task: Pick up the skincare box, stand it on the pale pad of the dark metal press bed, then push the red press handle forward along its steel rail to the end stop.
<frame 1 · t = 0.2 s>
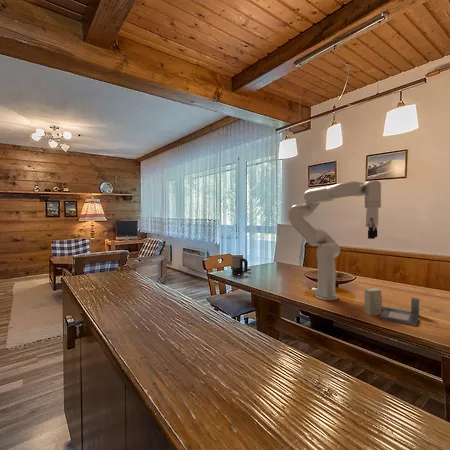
hand: (372, 237, 147), 36 cm above the table, tool pointing down, fingers open, 9 cm apart
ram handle: (376, 298, 145), point 5 cm above the table, slide at 0.0 cm
press bed: (398, 318, 131), on the table
skincare box: (372, 314, 138), on the table
milk frother: (241, 273, 230), on the table
rail: (392, 311, 141), on the table
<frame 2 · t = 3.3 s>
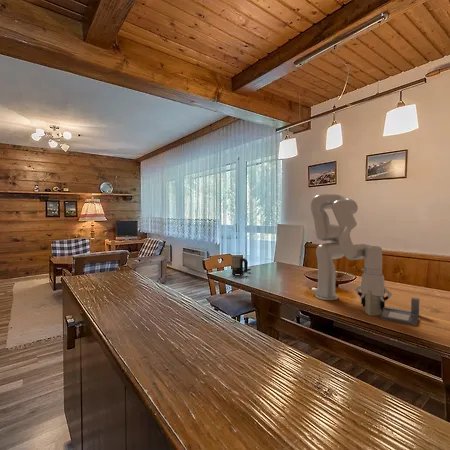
hand: (372, 307, 138), 3 cm above the table, tool pointing down, fingers closed on skincare box, 7 cm apart
skincare box: (372, 314, 138), on the table, touching gripper
everything else where it was.
when the fingers open (5 cm above the table, at t = 7.7 s): skincare box stays where it is, resting on press bed.
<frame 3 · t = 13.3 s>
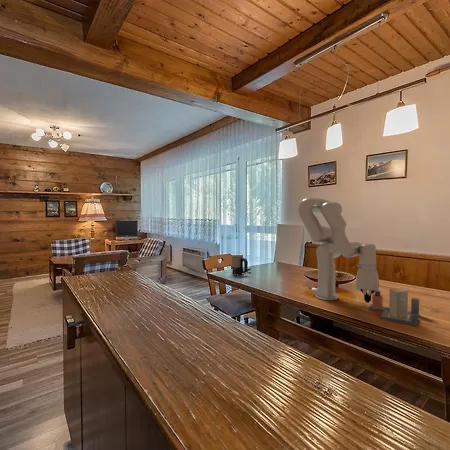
hand: (367, 302, 148), 2 cm above the table, tool pointing down, fingers closed
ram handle: (377, 298, 145), point 5 cm above the table, slide at 0.4 cm, touching gripper
skincare box: (398, 316, 131), point 1 cm above the table, touching press bed
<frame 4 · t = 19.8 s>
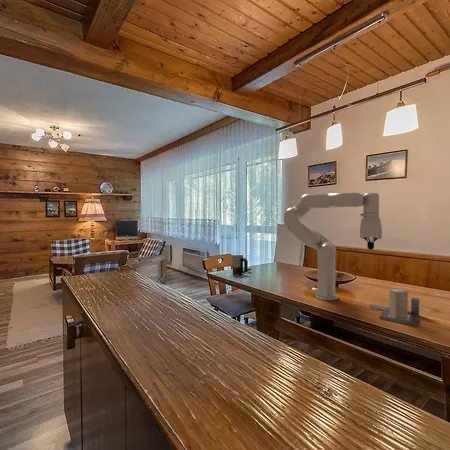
hand: (370, 249, 154), 29 cm above the table, tool pointing down, fingers closed
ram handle: (399, 301, 139), point 5 cm above the table, slide at 10.0 cm
at the end: skincare box inside the target area on the press bed (0.3 cm from its centre), point 1.2 cm above the press bed's base; skincare box tilted 0°; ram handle slide at 10.0 cm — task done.
